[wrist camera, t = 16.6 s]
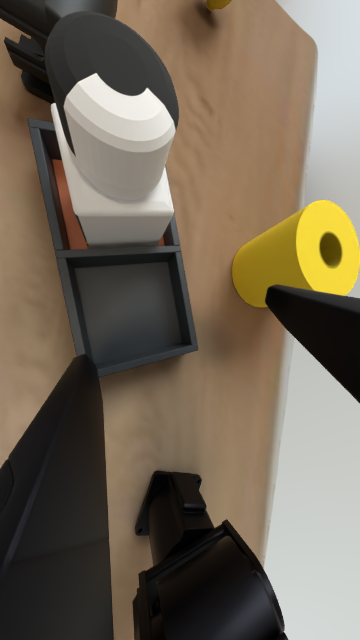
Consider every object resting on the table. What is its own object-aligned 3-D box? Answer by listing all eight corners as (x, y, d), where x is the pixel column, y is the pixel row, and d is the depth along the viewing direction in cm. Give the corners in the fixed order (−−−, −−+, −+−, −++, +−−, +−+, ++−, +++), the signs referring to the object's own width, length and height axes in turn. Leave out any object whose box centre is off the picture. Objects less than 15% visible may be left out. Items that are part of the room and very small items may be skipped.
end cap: (101, 132, 19) (93, 37, 13) (22, 93, 17) (-36, -47, 10) (117, 54, 20) (118, -73, 14) (44, 6, 18) (3, -175, 11)
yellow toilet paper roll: (292, 287, 29) (370, 271, 20) (252, 319, 26) (323, 318, 17) (266, 231, 27) (338, 186, 18) (220, 259, 24) (280, 222, 15)
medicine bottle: (74, 184, 18) (-4, -67, 6) (143, 188, 20) (178, 11, 9) (89, 254, 18) (43, 136, 7) (156, 249, 20) (205, 157, 9)
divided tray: (186, 346, 22) (198, 350, 19) (88, 371, 18) (81, 381, 15) (154, 169, 21) (161, 141, 18) (43, 156, 17) (26, 117, 14)
